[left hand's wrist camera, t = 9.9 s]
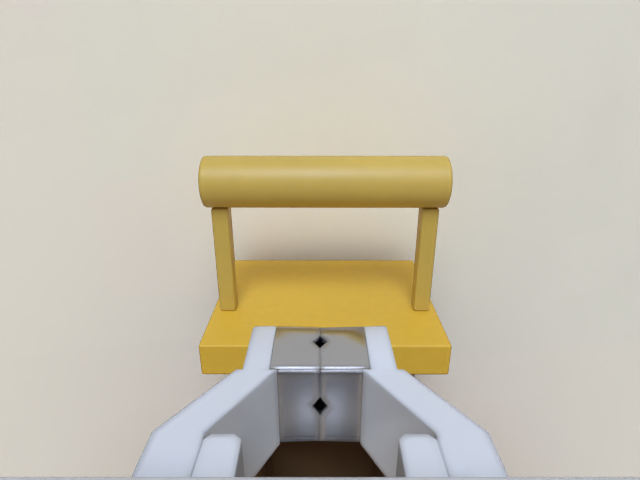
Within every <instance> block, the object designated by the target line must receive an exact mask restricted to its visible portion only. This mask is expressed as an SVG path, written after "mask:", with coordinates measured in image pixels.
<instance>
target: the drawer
mask: <svg viewBox="0 0 640 480" xmlns="http://www.w3.org/2000/svg"><path fill="white" fill-rule="evenodd" d="M198 182H199V192H200V197H201V200H202V203H203V205H204V206H205V207H213V208H212V209H211V213H212V224H213V235H214V246H215V256H216V267H217V278H218V289H219V300H218V302H217V304H216V307H215V309H214V311H213V314H212V316H211V318H210V321H209V323H208V326H207V328H206V330H205V333H204V335H203V337H202V340H201V342H200V345H199V352H200V360H201V369H202V374H231V373H232V372H233V371H235V370H236V369H243V365H244V361H245V357H246V353H247V349H248V345H249V341H250V337H251V333H252V329H253V328H254V327H255V326H276V327H277V326H295V327H320V328H327V327H363V326H386V327H387V330H388V334H389V338H390V342H391V346H392V350H393V354H394V357H395V361H396V365H397V369H404V370H405V371H407V372H408V373H409V374H411V375H412V376H413V377H415V376H414V374H448V370H449V362H450V354H451V344H450V342H449V340H448V337H447V335H446V333H445V331H444V329H443V326H442V324H441V322H440V320H439V318H438V315H437V313H436V311H435V309H434V307H433V304H432V302H431V300H430V294H431V284H432V274H433V264H434V255H435V245H436V235H437V225H438V215H439V209H438V208H443V207H446V206H447V204H448V202H449V200H450V196H451V192H452V167H451V163H450V160H449V158H448V157H446V156H204V157H203V158H202V159H201V162H200V166H199V175H198ZM231 207H317V208H419V217H418V228H417V240H416V252H415V264H414V263H413V261H296V260H236V261H235V257H234V244H233V231H232V217H231ZM255 477H385V475H384V474H383V473H382V471H381V470H380V469H379V467H378V466H377V465H376V464H375V462H374V461H373V460H372V458H371V457H370V456H369V454H368V453H367V452H366V451H365V449H364V448H363V447H362V445H361V444H360V442H345V441H295V442H280V445H279V446H278V447H277V448H276V450H275V451H274V452H273V454H272V455H271V456H270V457H269V459H268V460H267V461H266V463H265V464H264V465H263V467H262V468H261V469H260V470H259V472H258V473H257V474H256V476H255Z"/></svg>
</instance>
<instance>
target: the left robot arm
mask: <svg viewBox="0 0 640 480" xmlns="http://www.w3.org/2000/svg"><path fill="white" fill-rule="evenodd" d="M295 441H345V442H360V444H361V445H362V447H363V448H364V449H365V451H366V452H367V453H368V454H369V456H370V457H371V458H372V460H373V461H374V462H375V464H376V465H377V466H378V467H379V469H380V470H381V471H382V473H383V474H384V475H385V477H255V476H256V474H257V473H258V472H259V470H260V469H261V468H262V467H263V465H264V464H265V463H266V461H267V460H268V459H269V457H270V456H271V455H272V454H273V452H274V451H275V450H276V448H277V447H278V446H279V445H280V442H295ZM0 480H640V477H508V475H507V473H506V470H505V468H504V466H503V464H502V461H501V459H500V457H499V455H498V453H497V450H496V448H495V446H494V444H493V441H492V439H491V437H490V435H489V433H488V432H487V431H486V430H484V429H483V428H482V427H480V426H479V425H478V424H476V423H475V422H474V421H472V420H471V419H470V418H468V417H467V416H466V415H464V414H463V413H462V412H460V411H459V410H457V409H456V408H455V407H453V406H452V405H451V404H449V403H448V402H447V401H445V400H444V399H443V398H441V397H440V396H439V395H437V394H436V393H435V392H433V391H432V390H431V389H429V388H428V387H427V386H425V385H424V384H423V383H421V382H420V381H419V380H417V379H416V378H415V377H413V376H412V375H411V374H409V373H408V372H407V371H405V370H404V369H397V365H396V361H395V357H394V354H393V350H392V346H391V342H390V338H389V334H388V330H387V327H386V326H363V327H327V328H320V327H295V326H277V327H276V326H255V327H254V328H253V329H252V333H251V337H250V341H249V345H248V349H247V353H246V357H245V361H244V365H243V369H236V370H235V371H233V372H232V373H231V374H229V375H228V376H227V377H225V378H224V379H223V380H221V381H220V382H219V383H217V384H216V385H215V386H213V387H212V388H210V389H209V390H208V391H206V392H205V393H204V394H202V395H201V396H200V397H198V398H197V399H196V400H194V401H193V402H192V403H190V404H189V405H188V406H186V407H185V408H184V409H182V410H181V411H180V412H178V413H177V414H176V415H174V416H173V417H172V418H170V419H169V420H168V421H166V422H165V423H163V424H162V425H161V426H159V427H158V428H157V429H155V430H154V431H153V432H152V433H151V435H150V437H149V440H148V442H147V444H146V446H145V448H144V451H143V453H142V455H141V457H140V459H139V462H138V464H137V466H136V468H135V470H134V473H133V475H132V477H0Z"/></svg>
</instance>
